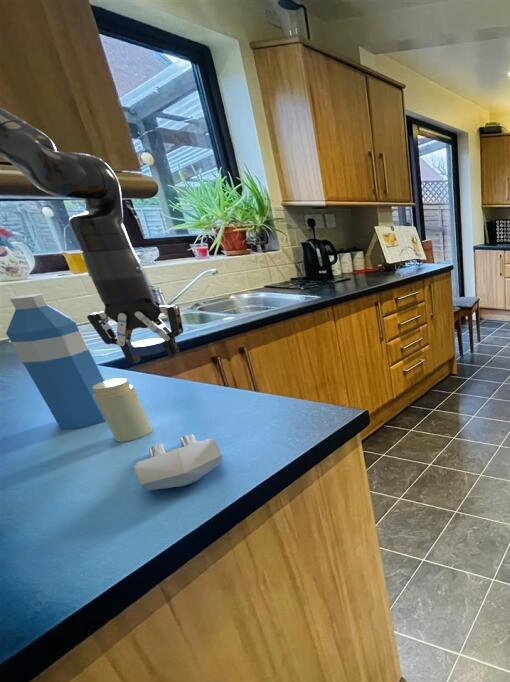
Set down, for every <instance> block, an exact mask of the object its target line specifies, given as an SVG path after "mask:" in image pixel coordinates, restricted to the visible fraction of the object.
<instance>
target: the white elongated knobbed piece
mask: <svg viewBox="0 0 510 682" xmlns="http://www.w3.org/2000/svg"><path fill="white" fill-rule="evenodd" d="M179 442H180V443H181V445H182V446H181V447H178V448H176V447H175V448H173V449H172V450H170V451H167V449H166V447H165V445H164V444H163V443H161V444H159V443H158V444H155V445H152V446H150V447H148V453H149V458H146V459H142V460H139V461H137V463H136V464H135V465H134V467H133V470H134V472H135V474H136V477H137V479H138V481H139V483H140V485H141V486H143V487H144V488H145V489H146V490H147V491H154V490H162V489H169V488H170V489H171V488H174V487H175V488H176V487H177V488H180V487H185V486H188V485H191V484H193V483H196V482H198V481H199V480H200V479H202V477H203V476H205V475H207V474H208V473H209V472H211V471H212V470H214V469H215V468H217V467H218V466H220V465H221V464H222V456H223V455H222V452H221V450H220V449H219V446H218V444H217V441H216V440H215V439H213V438H205V439H202V440H199V441H198V439H197V438H196V436H195V435H194V434H193V433H191V434H186V435H183V436H182V437H180V438H179Z"/></svg>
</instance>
